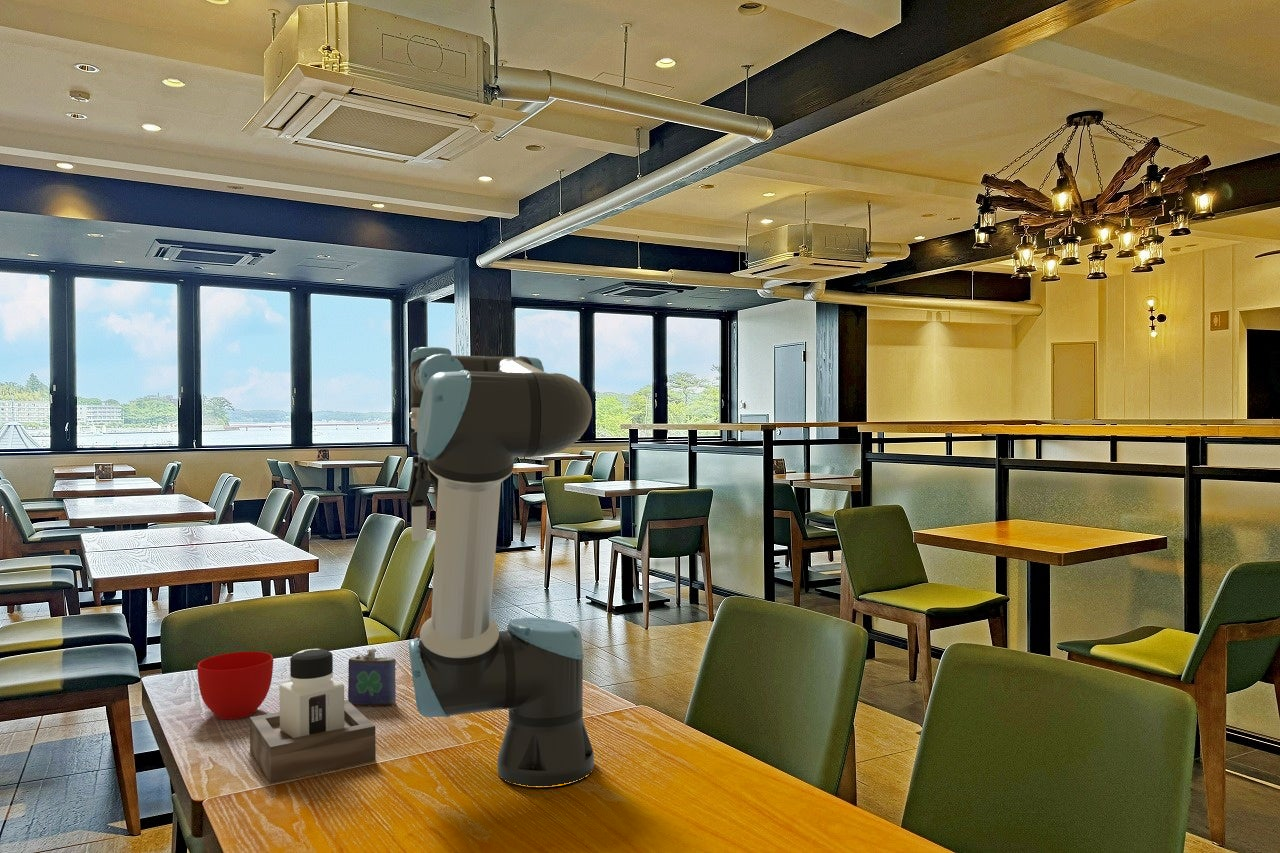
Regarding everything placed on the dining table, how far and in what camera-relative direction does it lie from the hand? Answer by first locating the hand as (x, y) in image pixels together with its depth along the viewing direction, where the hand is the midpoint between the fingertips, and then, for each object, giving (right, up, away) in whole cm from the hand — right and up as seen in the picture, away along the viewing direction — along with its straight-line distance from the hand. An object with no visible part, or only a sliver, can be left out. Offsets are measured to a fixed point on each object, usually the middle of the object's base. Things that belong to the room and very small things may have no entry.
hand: (432, 544), depth 164 cm
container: (-15, -28, -20) cm, 37 cm away
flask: (-13, -32, +6) cm, 35 cm away
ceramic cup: (-38, -32, +2) cm, 50 cm away
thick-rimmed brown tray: (-15, -32, -20) cm, 40 cm away
